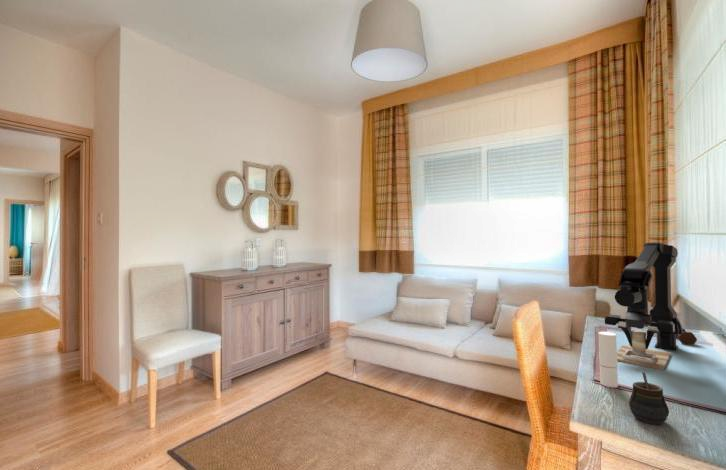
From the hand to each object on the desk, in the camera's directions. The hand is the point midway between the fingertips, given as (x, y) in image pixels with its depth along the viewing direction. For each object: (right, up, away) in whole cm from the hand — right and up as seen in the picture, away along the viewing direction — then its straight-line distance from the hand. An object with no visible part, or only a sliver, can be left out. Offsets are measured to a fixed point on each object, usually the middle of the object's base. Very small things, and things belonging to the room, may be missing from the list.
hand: (639, 347), depth 121 cm
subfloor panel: (+3, -5, +3) cm, 6 cm away
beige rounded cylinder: (0, -3, 0) cm, 2 cm away
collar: (0, -5, 0) cm, 4 cm away
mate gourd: (-29, -5, -39) cm, 48 cm away
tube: (-24, -5, -19) cm, 31 cm away
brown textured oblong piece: (+36, -5, +23) cm, 43 cm away
